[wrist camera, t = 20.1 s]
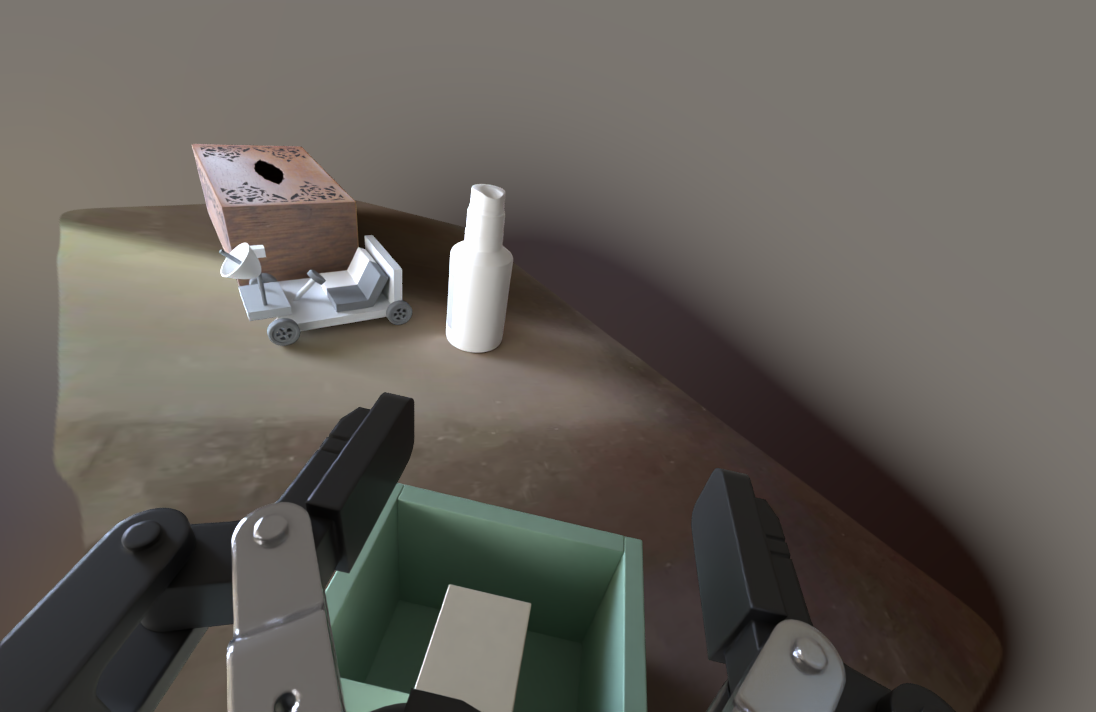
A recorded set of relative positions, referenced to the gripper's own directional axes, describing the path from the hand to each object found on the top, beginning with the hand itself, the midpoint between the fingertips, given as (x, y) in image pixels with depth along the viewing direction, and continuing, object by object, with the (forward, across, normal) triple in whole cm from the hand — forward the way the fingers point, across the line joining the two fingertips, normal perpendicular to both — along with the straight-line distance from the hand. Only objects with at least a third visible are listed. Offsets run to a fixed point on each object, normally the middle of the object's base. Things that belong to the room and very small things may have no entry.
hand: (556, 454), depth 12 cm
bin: (+2, +1, +23) cm, 23 cm away
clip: (-3, +1, +18) cm, 19 cm away
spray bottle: (+38, +11, +23) cm, 46 cm away
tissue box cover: (+52, +44, +23) cm, 72 cm away
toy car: (+36, +30, +23) cm, 52 cm away
